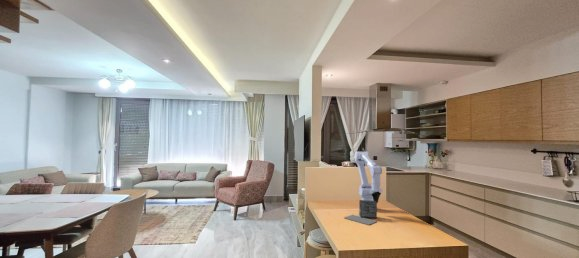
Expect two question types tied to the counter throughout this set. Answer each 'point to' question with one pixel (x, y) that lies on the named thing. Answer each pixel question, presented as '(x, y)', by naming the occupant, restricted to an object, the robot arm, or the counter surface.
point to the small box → (368, 209)
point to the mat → (360, 219)
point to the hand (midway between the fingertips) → (375, 202)
